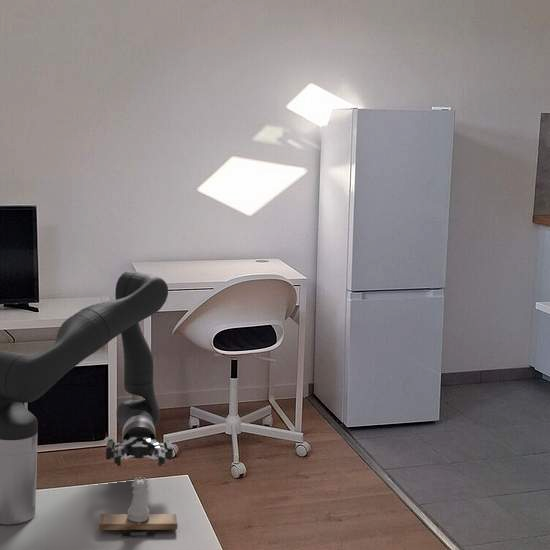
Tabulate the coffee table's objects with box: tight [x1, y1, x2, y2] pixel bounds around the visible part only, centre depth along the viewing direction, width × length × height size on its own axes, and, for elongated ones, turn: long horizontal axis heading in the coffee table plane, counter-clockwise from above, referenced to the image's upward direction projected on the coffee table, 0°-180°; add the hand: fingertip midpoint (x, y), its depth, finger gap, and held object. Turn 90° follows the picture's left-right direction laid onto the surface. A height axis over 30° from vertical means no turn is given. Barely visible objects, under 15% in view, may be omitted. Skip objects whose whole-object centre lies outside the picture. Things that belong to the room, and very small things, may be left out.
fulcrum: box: [122, 530, 155, 538], centre depth 166 cm, size 6×7×1 cm
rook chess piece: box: [127, 476, 151, 523], centre depth 165 cm, size 4×4×8 cm
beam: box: [98, 513, 178, 531], centre depth 166 cm, size 15×4×1 cm, turn 100°
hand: (139, 461), depth 175 cm, fingers open, 8 cm apart
